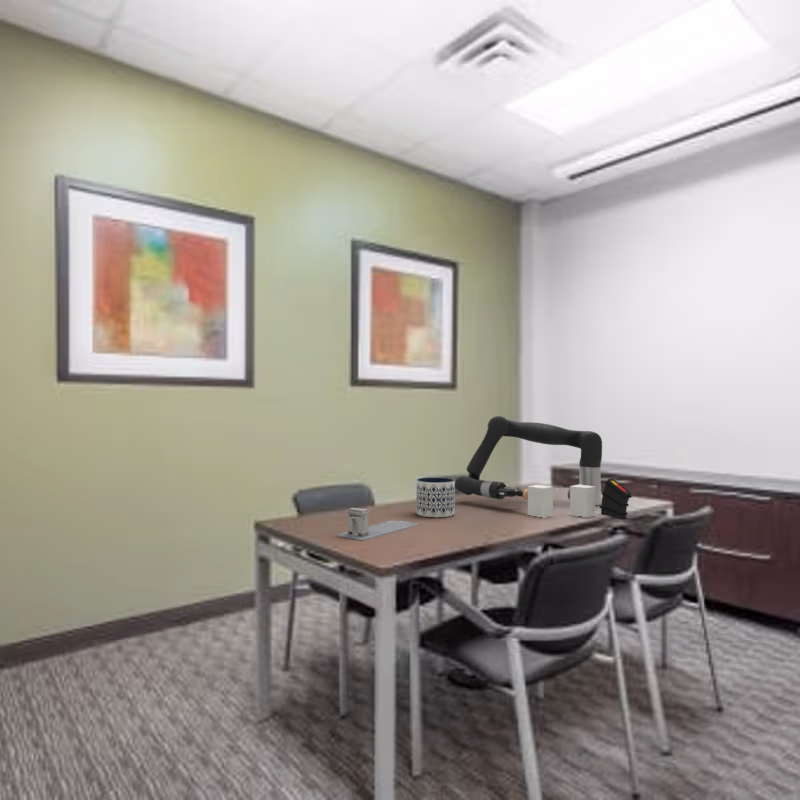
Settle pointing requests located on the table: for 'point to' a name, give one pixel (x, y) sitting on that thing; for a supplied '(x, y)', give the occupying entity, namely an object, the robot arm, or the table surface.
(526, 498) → the knob
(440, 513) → the planter
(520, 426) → the robot arm
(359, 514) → the grey plate with block
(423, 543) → the table surface
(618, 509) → the magazine
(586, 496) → the block
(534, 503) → the block
